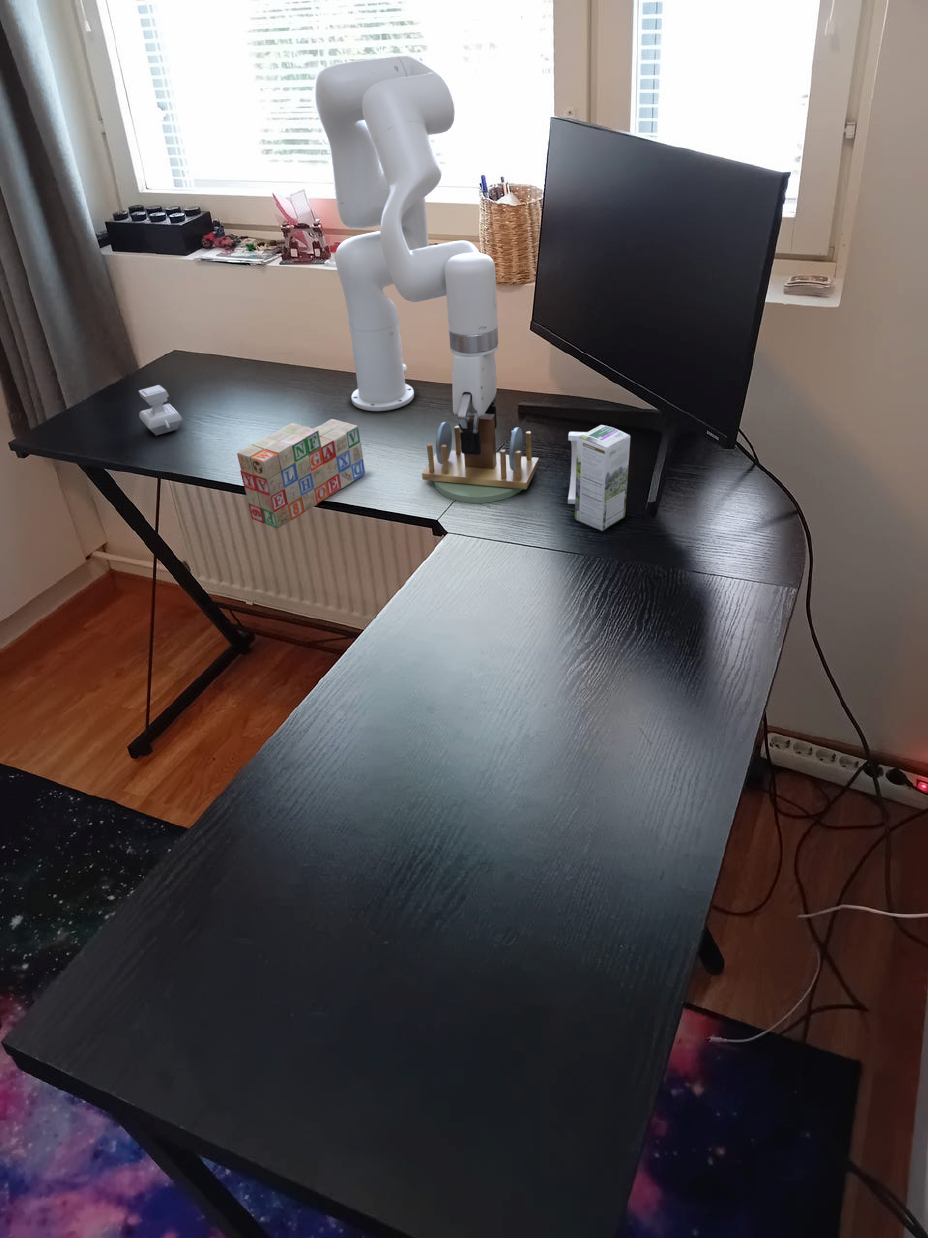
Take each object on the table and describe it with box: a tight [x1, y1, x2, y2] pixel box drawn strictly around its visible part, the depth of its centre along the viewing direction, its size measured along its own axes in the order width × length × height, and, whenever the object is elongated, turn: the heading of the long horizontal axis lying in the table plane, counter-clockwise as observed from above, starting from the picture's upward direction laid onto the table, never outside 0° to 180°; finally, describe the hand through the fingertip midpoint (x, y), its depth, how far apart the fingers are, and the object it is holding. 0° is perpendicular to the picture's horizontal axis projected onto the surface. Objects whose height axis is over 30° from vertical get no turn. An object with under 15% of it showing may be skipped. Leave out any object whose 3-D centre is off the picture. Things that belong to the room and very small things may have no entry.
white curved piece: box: [567, 431, 588, 505], centre depth 150 cm, size 5×6×12 cm
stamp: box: [138, 384, 183, 436], centre depth 182 cm, size 9×7×8 cm
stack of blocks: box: [236, 418, 366, 529], centre depth 155 cm, size 21×6×12 cm, turn 143°
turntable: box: [434, 452, 524, 504], centre depth 160 cm, size 16×16×1 cm
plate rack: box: [421, 414, 540, 490], centre depth 156 cm, size 18×9×10 cm, turn 73°
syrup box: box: [574, 424, 631, 532], centre depth 143 cm, size 6×6×14 cm
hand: (479, 440), depth 156 cm, fingers open, 9 cm apart
